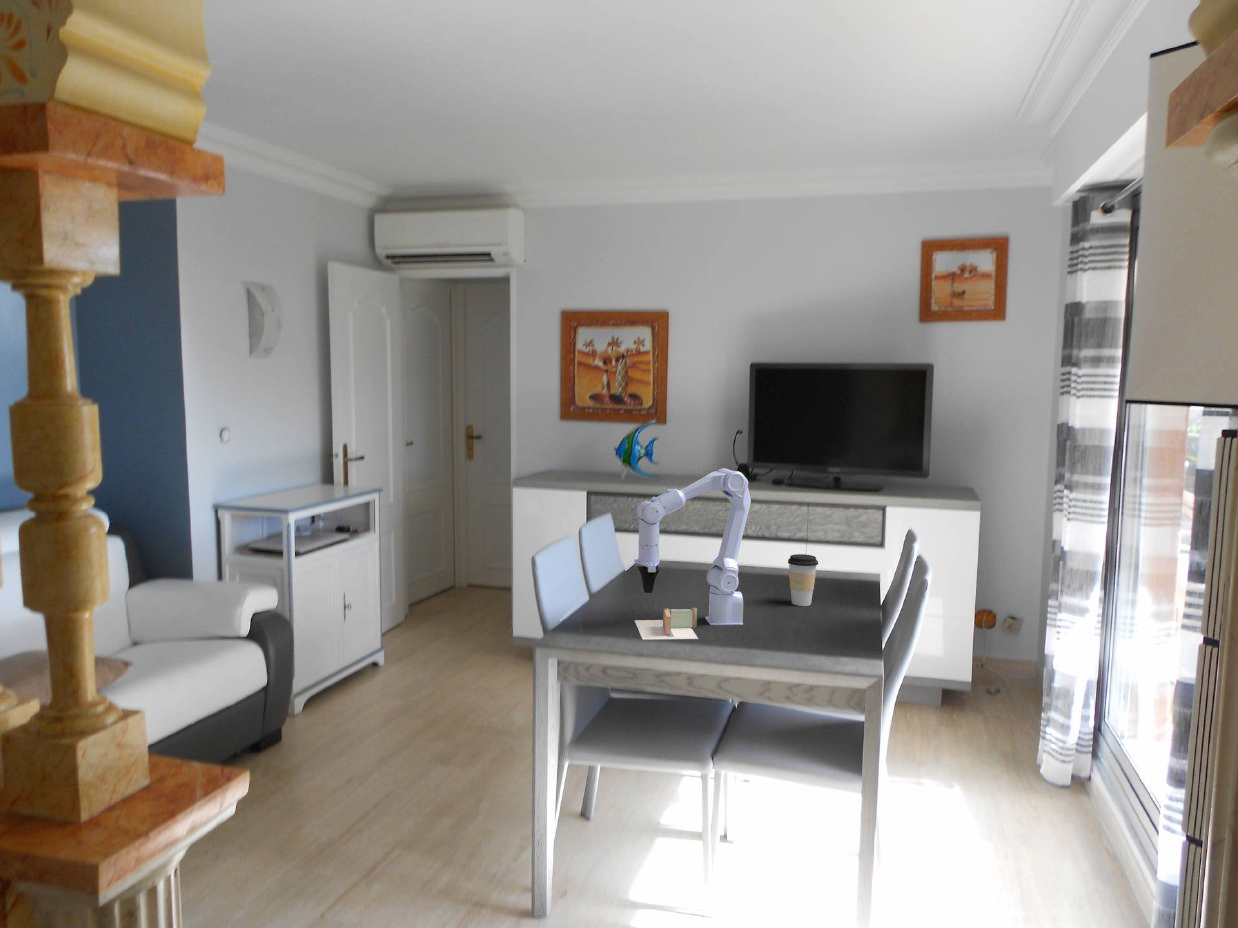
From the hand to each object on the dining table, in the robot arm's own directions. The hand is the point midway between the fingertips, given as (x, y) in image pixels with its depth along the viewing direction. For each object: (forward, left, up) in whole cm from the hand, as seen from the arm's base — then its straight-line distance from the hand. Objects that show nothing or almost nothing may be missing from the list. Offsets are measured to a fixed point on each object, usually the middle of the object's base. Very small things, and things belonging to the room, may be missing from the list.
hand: (648, 592), depth 246 cm
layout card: (-4, +3, -10) cm, 11 cm away
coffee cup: (-52, -24, -10) cm, 58 cm away
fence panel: (-5, +6, -9) cm, 12 cm away
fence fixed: (-10, +2, -10) cm, 14 cm away
